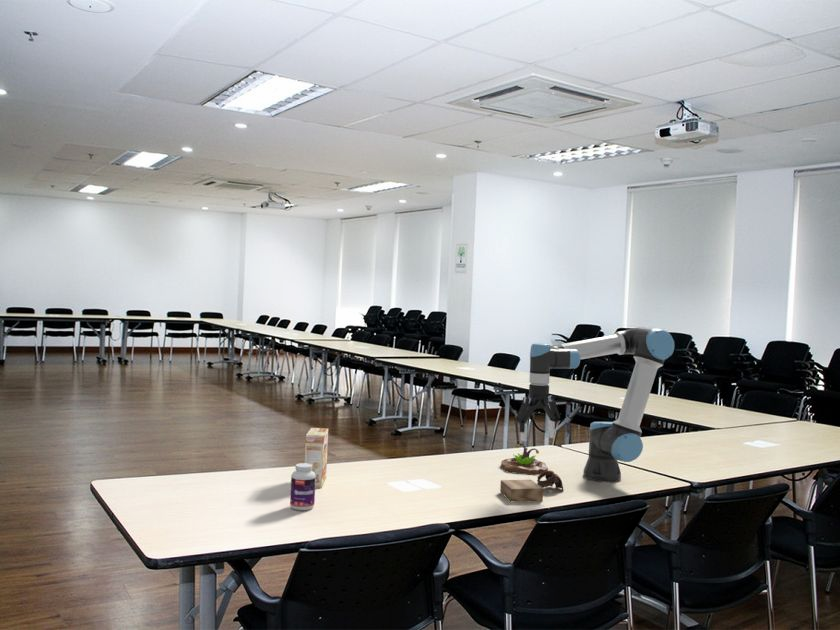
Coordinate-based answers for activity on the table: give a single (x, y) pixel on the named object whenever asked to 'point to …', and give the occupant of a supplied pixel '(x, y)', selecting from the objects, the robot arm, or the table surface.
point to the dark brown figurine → (550, 480)
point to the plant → (524, 463)
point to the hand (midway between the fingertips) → (537, 439)
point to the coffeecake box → (317, 453)
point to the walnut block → (521, 490)
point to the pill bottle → (302, 487)
